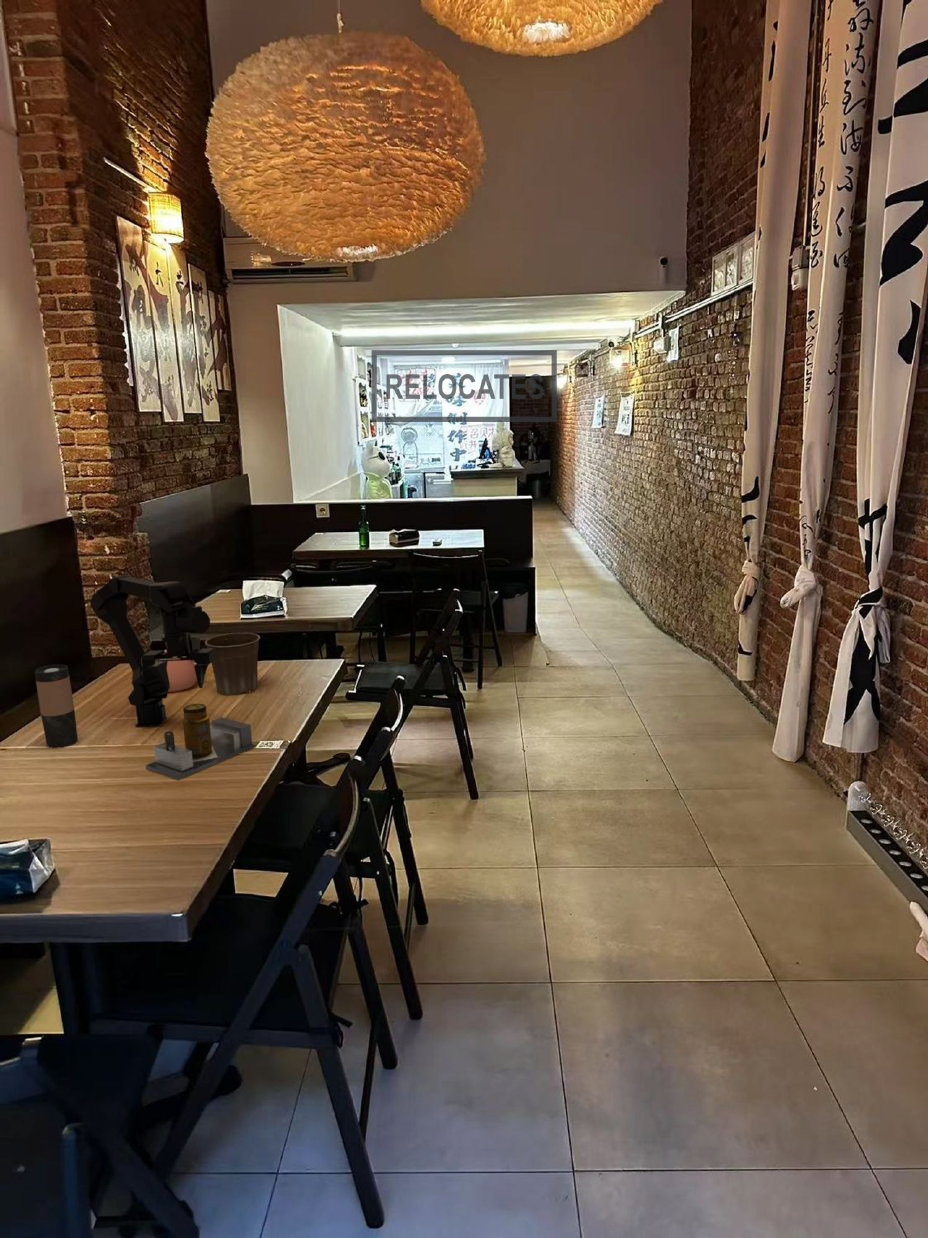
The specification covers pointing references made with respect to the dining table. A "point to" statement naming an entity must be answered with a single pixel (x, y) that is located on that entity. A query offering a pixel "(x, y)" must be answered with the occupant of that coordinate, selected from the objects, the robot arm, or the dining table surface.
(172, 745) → the sliding jaw
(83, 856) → the dining table surface
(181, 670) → the teapot
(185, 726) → the condiment
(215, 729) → the vise
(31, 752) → the dining table surface
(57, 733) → the travel mug
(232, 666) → the plant pot
